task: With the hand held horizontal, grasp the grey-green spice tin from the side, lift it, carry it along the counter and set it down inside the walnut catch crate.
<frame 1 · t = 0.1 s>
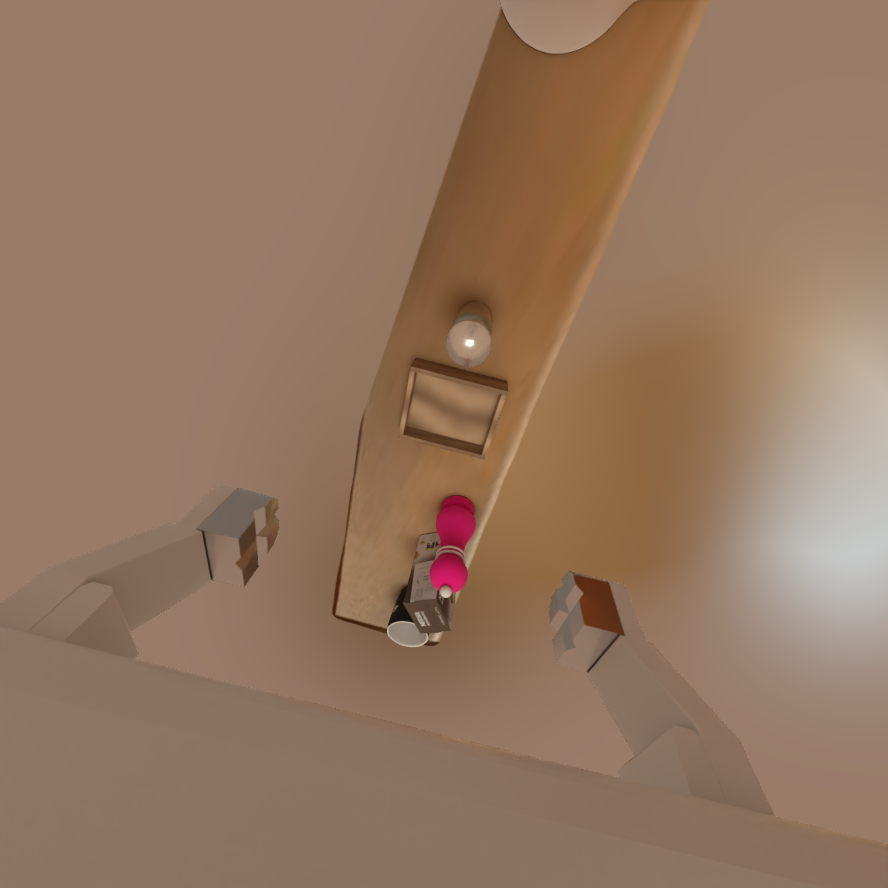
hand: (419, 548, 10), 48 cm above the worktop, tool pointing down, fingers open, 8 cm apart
catch crate: (452, 404, 61), on the worktop
mug: (415, 597, 88), on the worktop
spice tin: (474, 319, 53), on the worktop
pepper mill: (458, 507, 72), on the worktop
coffee box: (440, 547, 78), on the worktop
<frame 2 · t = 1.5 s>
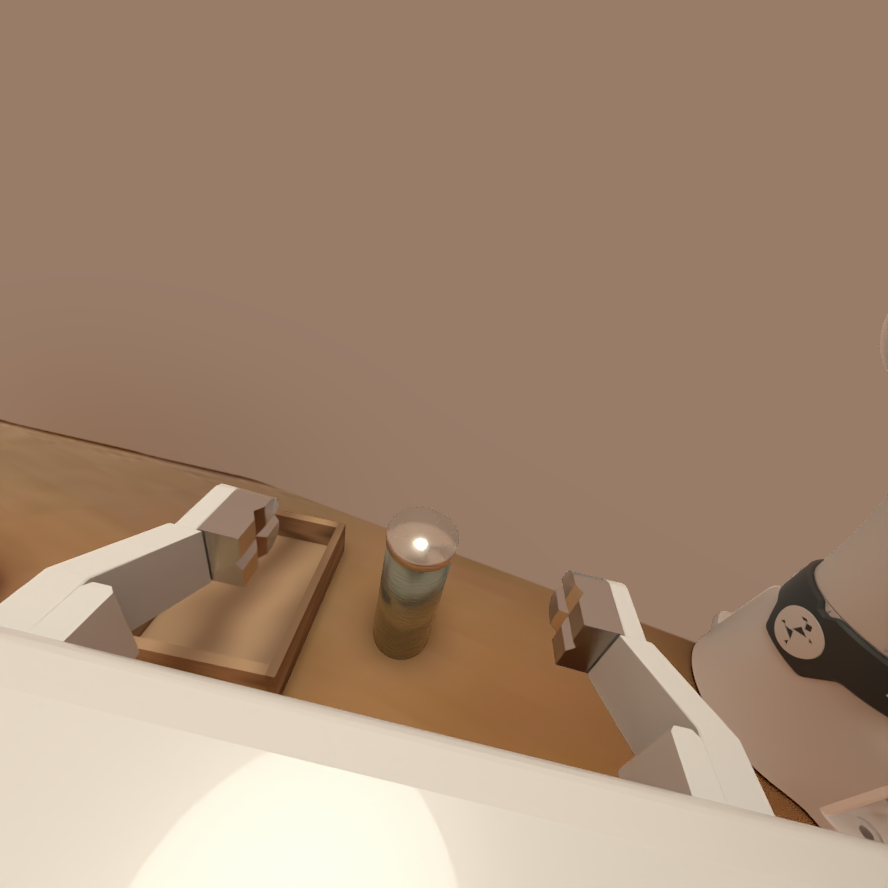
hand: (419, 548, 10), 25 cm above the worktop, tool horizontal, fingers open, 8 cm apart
catch crate: (249, 598, 33), on the worktop
spice tin: (401, 630, 34), on the worktop
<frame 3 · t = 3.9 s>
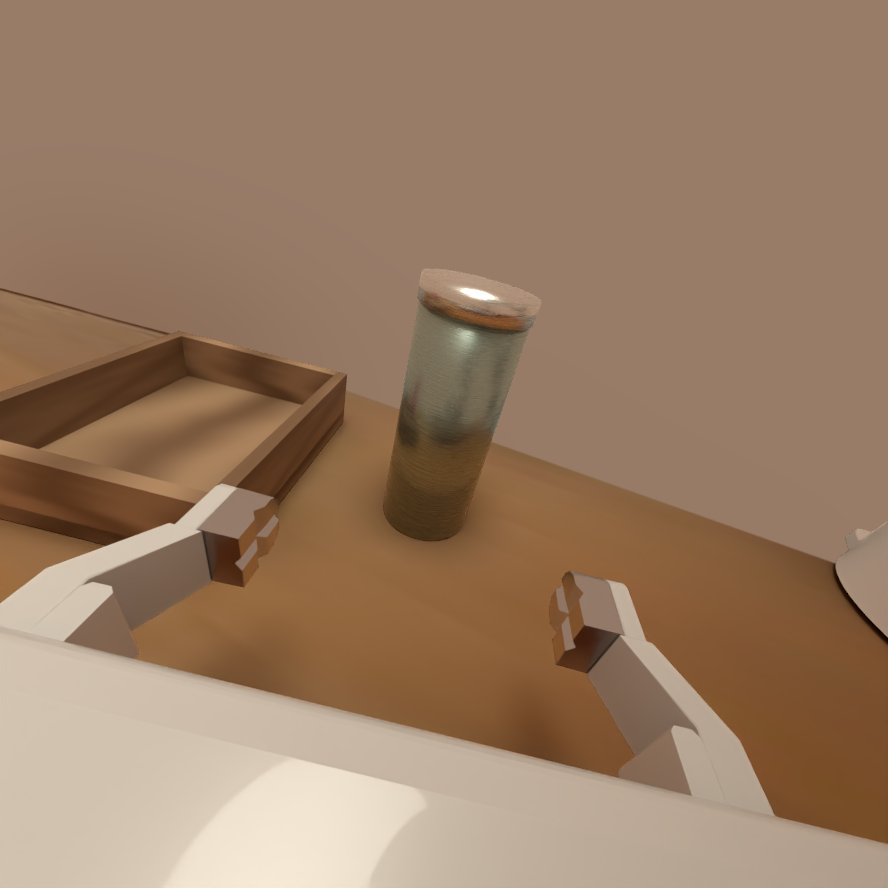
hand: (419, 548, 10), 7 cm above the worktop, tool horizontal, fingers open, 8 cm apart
catch crate: (200, 451, 22), on the worktop
spice tin: (424, 509, 23), on the worktop
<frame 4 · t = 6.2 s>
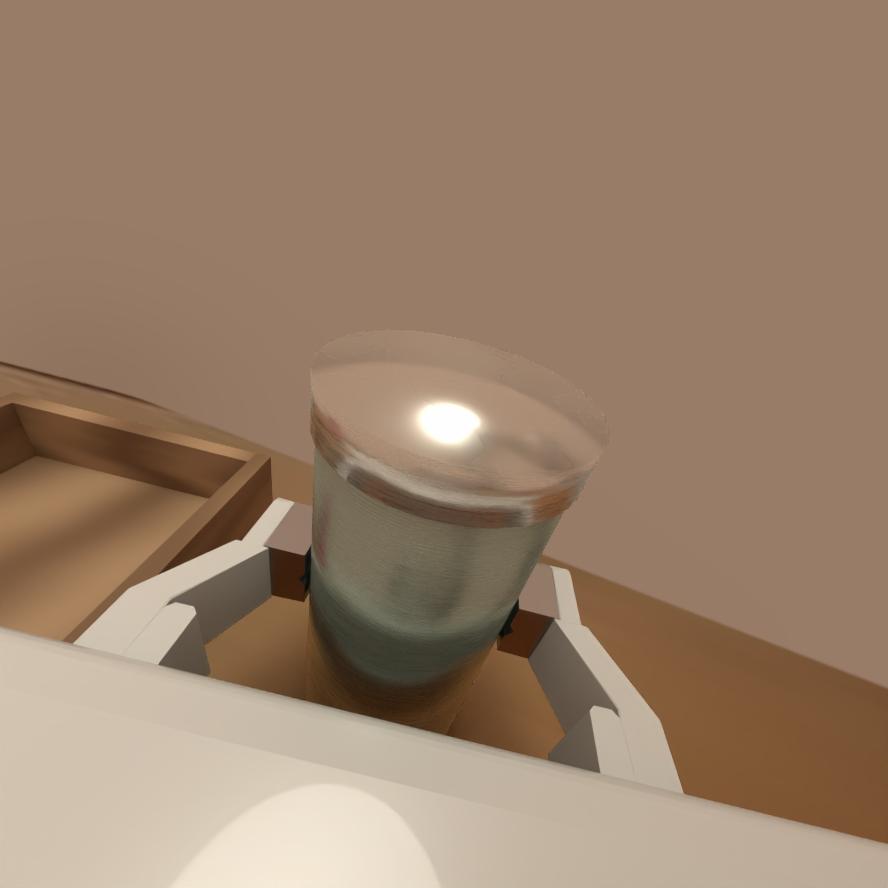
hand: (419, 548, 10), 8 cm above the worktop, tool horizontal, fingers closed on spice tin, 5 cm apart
catch crate: (2, 613, 13), on the worktop
spice tin: (378, 706, 13), on the worktop, touching gripper
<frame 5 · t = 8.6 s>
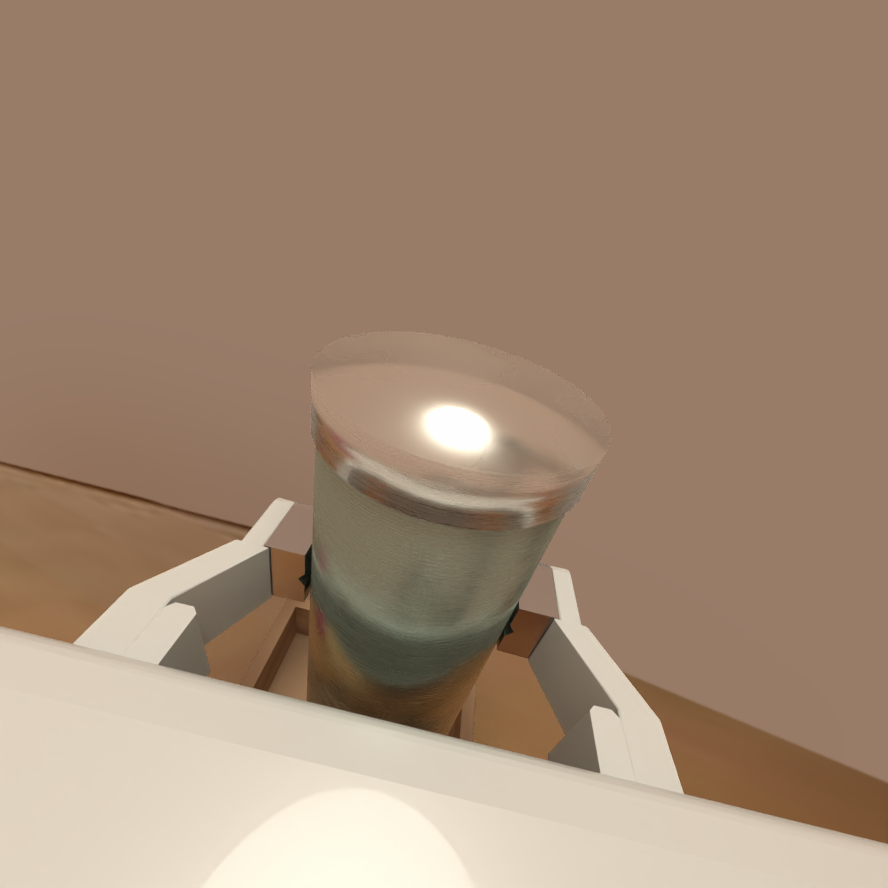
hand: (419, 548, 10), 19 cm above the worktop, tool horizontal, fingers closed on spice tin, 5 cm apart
catch crate: (339, 786, 20), on the worktop
spice tin: (378, 707, 13), point 11 cm above the worktop, touching gripper
when the fingers open (10 cm above the worktop, at t = 10.7 s): spice tin drops 1 cm, resting on catch crate.
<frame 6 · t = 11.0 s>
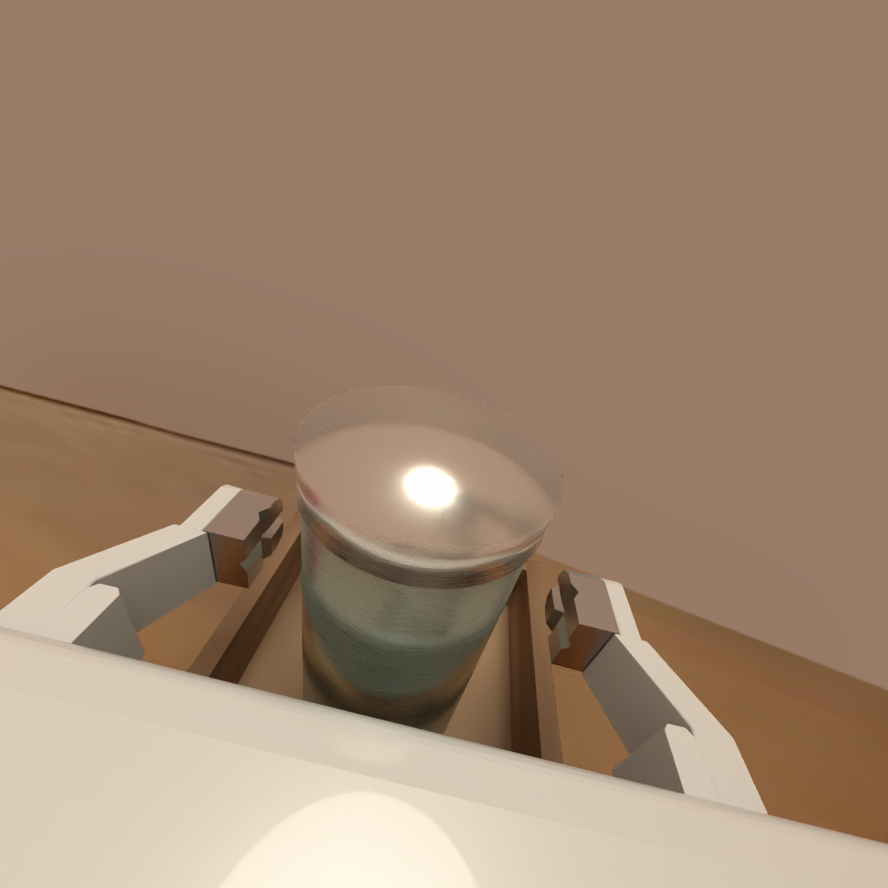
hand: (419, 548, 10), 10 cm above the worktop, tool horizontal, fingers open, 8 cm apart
catch crate: (371, 733, 15), on the worktop
spice tin: (372, 723, 14), point 1 cm above the worktop, touching catch crate
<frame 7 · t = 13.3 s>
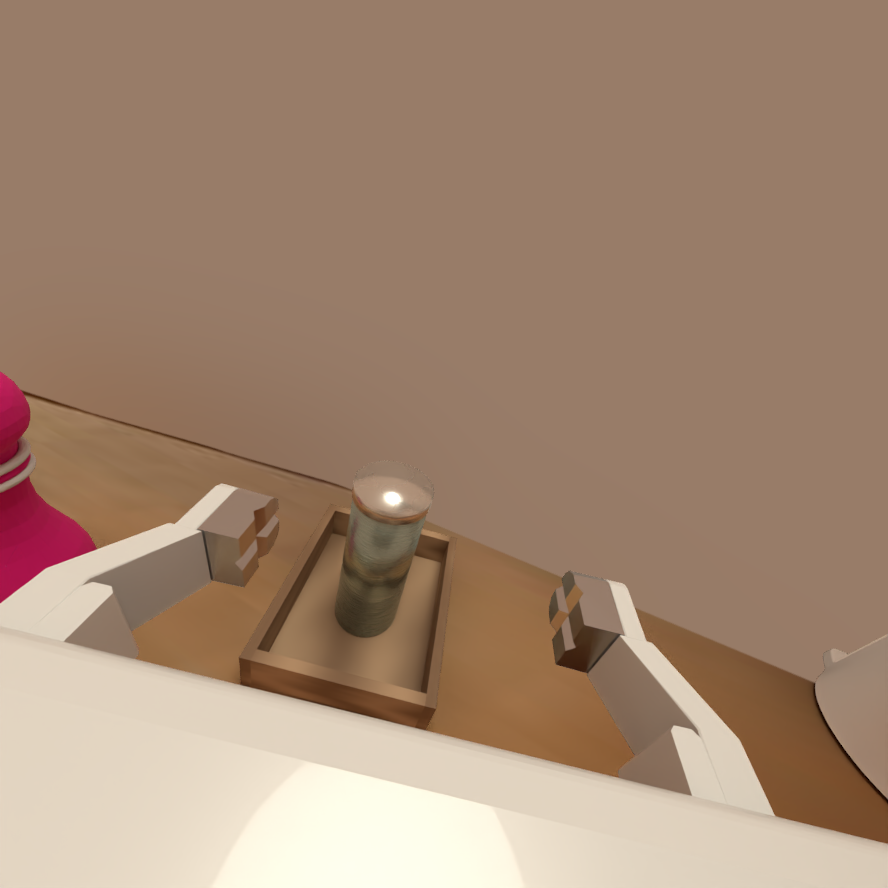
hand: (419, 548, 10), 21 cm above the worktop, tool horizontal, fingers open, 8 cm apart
catch crate: (365, 614, 31), on the worktop
spice tin: (366, 607, 30), point 1 cm above the worktop, touching catch crate
pepper mill: (41, 615, 25), on the worktop
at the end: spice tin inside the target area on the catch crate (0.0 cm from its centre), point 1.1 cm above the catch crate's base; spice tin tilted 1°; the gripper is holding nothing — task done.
